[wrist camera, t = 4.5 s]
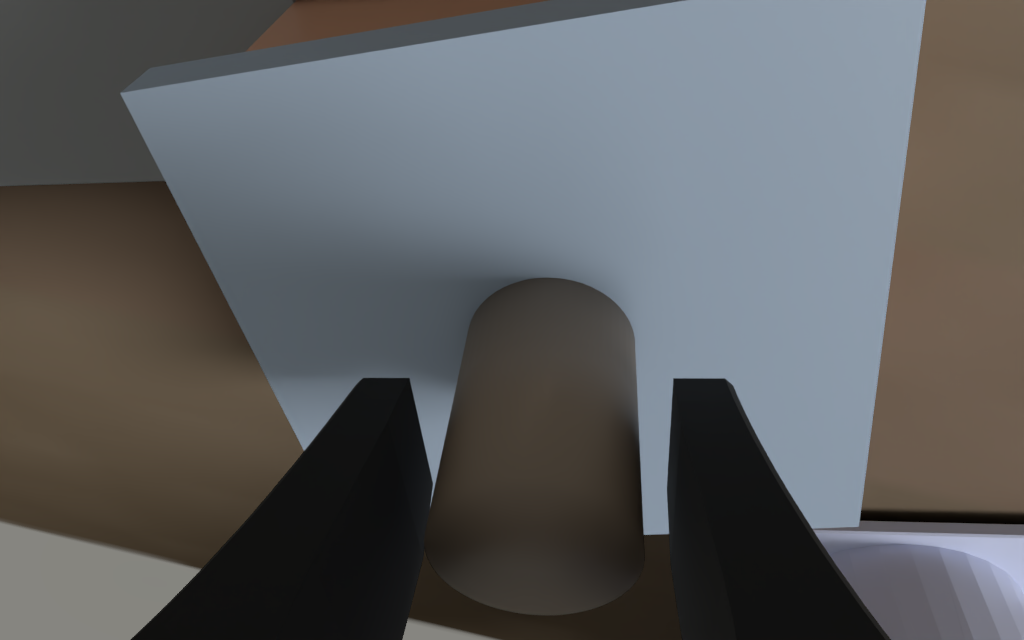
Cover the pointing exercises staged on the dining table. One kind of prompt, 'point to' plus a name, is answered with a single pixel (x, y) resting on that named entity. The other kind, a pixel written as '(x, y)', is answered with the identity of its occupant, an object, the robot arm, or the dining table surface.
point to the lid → (562, 250)
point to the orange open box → (364, 17)
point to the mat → (100, 78)
